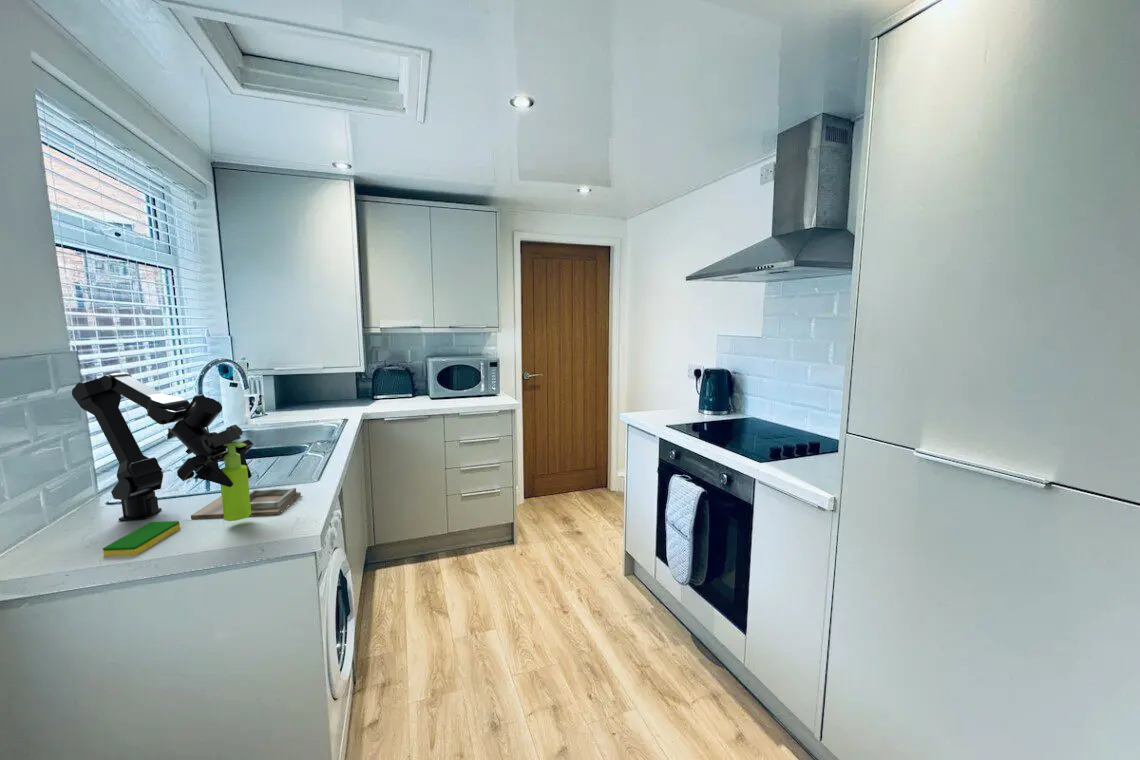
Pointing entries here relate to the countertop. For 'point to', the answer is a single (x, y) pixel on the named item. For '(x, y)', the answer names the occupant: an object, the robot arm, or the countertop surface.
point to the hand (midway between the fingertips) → (241, 481)
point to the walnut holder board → (254, 503)
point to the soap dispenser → (235, 485)
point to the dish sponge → (141, 539)
